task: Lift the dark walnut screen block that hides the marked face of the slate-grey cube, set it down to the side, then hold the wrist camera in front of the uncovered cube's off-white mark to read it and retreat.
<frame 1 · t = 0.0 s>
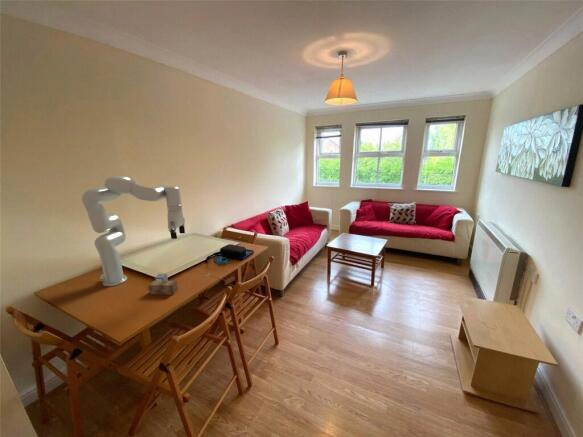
hand: (178, 235, 142), 31 cm above the table, tool pointing down, fingers open, 9 cm apart
marked cube: (162, 282, 150), on the table
walnut screen: (164, 292, 140), on the table
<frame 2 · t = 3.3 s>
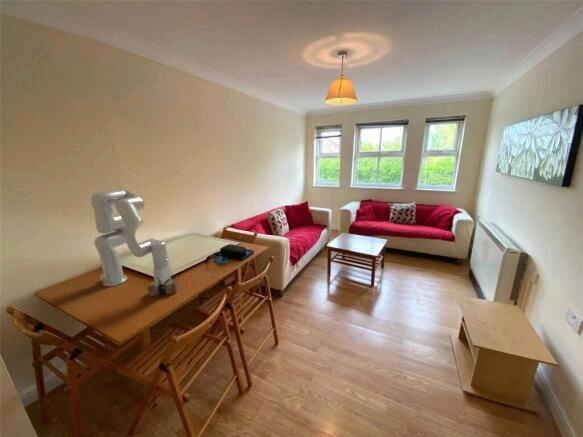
hand: (165, 290, 140), 1 cm above the table, tool pointing down, fingers closed on walnut screen, 6 cm apart
walnut screen: (164, 292, 140), on the table, touching gripper
everything else where it was.
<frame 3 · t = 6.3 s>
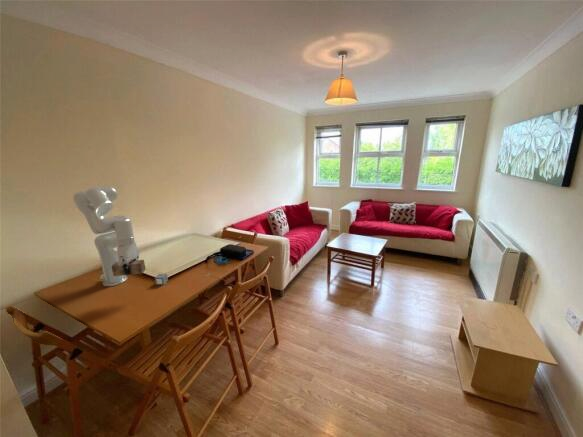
hand: (131, 270, 133), 15 cm above the table, tool pointing down, fingers closed on walnut screen, 5 cm apart
walnut screen: (130, 272, 133), point 14 cm above the table, touching gripper
everything else where it was.
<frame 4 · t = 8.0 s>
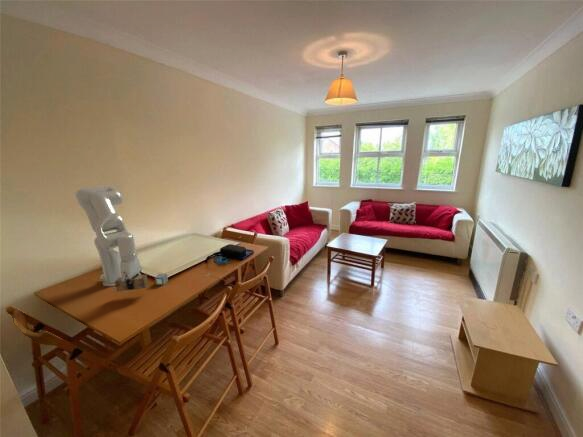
hand: (134, 285, 135), 6 cm above the table, tool pointing down, fingers closed on walnut screen, 5 cm apart
walnut screen: (133, 287, 135), point 5 cm above the table, touching gripper
everything else where it was.
when the fingers open (2 cm above the table, at t = 9.3 s): walnut screen drops 2 cm, on the table.
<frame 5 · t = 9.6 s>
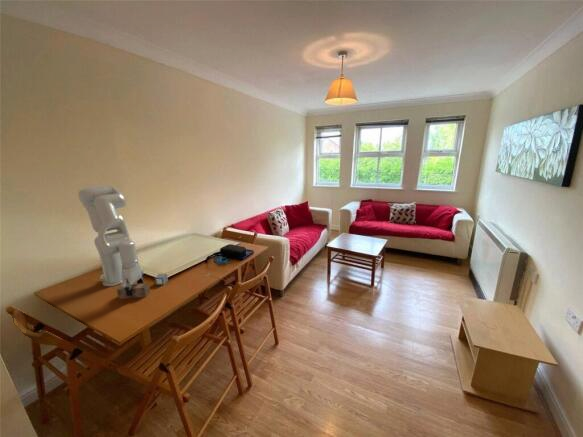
hand: (135, 290, 136), 3 cm above the table, tool pointing down, fingers open, 9 cm apart
walnut screen: (134, 295, 136), on the table
everything else where it was.
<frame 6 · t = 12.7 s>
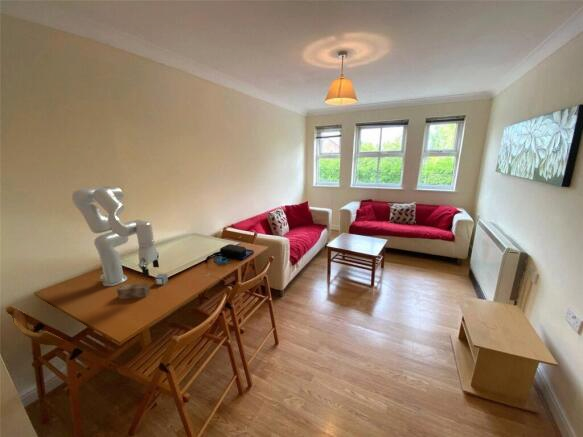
hand: (151, 271, 139), 12 cm above the table, tool pointing down, fingers open, 9 cm apart
nothing on the table moved.
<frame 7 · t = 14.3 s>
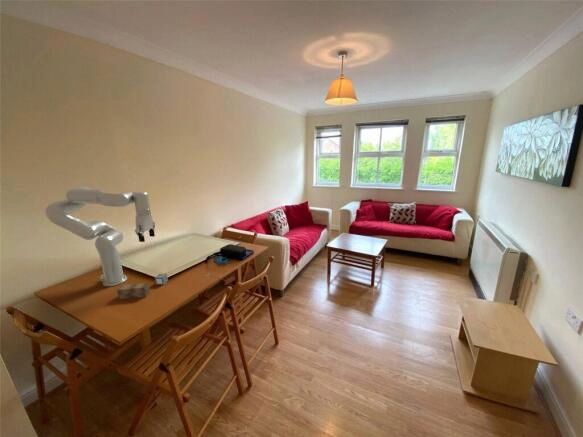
hand: (147, 238, 148), 27 cm above the table, tool pointing down, fingers open, 9 cm apart
nothing on the table moved.
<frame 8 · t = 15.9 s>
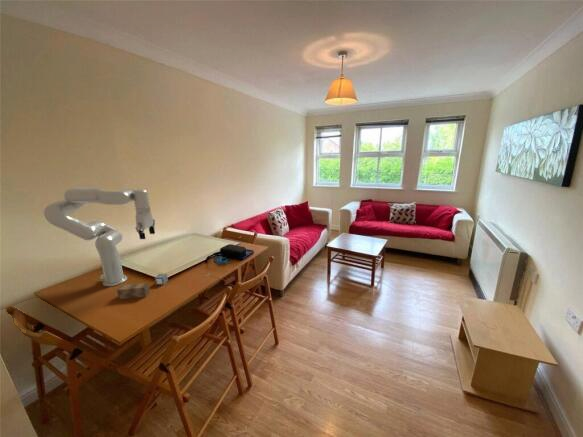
hand: (147, 236, 149), 28 cm above the table, tool pointing down, fingers open, 9 cm apart
nothing on the table moved.
at the end: walnut screen inside the target area (0.1 cm from its centre), on the table; walnut screen tilted 0°; marked cube moved 0.1 cm from its start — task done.
